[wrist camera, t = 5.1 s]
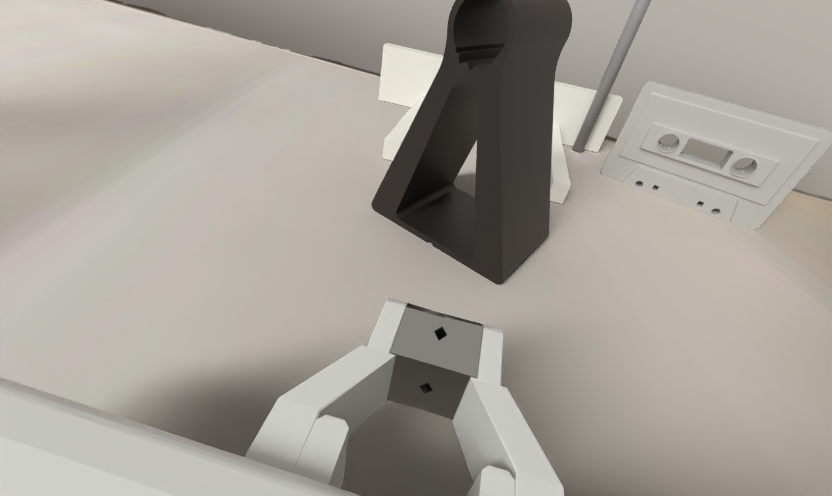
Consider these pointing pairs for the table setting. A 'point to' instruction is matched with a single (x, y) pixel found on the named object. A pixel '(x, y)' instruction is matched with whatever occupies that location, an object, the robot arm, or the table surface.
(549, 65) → the phone stand
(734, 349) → the table surface
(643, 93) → the cassette
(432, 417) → the table surface
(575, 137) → the flag on white base
